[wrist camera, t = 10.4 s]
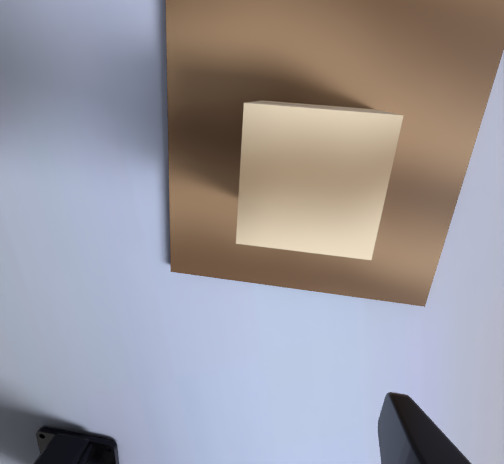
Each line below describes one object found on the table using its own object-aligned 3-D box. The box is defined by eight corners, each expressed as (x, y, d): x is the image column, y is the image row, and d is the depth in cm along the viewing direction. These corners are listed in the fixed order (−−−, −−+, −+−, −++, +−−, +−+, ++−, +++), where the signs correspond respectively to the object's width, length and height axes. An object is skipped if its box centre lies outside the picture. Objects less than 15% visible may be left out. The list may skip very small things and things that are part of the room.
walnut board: (421, 300, 19) (424, 306, 18) (174, 266, 20) (170, 271, 20) (511, -2, 14) (520, -6, 13) (170, -17, 15) (165, -21, 15)
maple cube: (354, 216, 17) (371, 260, 13) (254, 204, 18) (235, 243, 13) (374, 108, 15) (403, 115, 11) (262, 100, 16) (243, 102, 11)
